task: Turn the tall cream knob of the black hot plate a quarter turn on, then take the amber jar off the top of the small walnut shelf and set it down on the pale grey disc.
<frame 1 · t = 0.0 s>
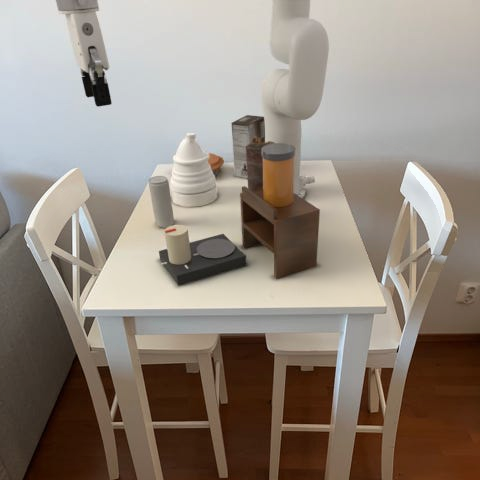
hand: (98, 100, 98), 31 cm above the table, tool pointing down, fingers open, 9 cm apart
candle: (263, 224, 119), on the table
knob: (178, 244, 99), point 6 cm above the table, hinge at 0.0°
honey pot: (194, 197, 134), on the table
shelf: (278, 256, 105), on the table
coffee box: (250, 173, 147), on the table
hot plate: (202, 263, 105), on the table
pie: (200, 174, 148), on the table
beverage can: (165, 225, 121), on the table
pale grey disc: (216, 258, 106), resting on hot plate
jar: (278, 201, 97), point 13 cm above the table, touching shelf
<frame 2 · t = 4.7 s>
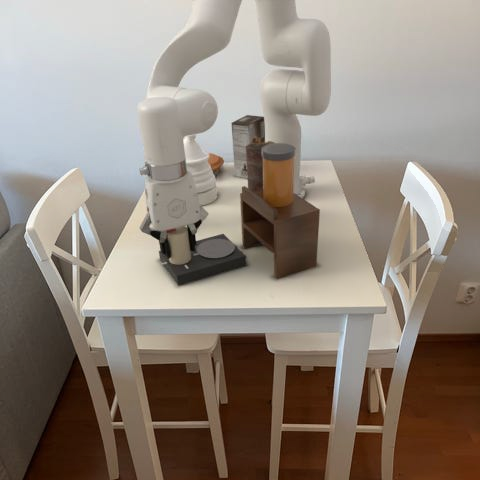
hand: (179, 251, 100), 4 cm above the table, tool pointing down, fingers closed on knob, 4 cm apart
knob: (178, 244, 99), point 6 cm above the table, hinge at -0.1°, touching gripper
everything else where it was.
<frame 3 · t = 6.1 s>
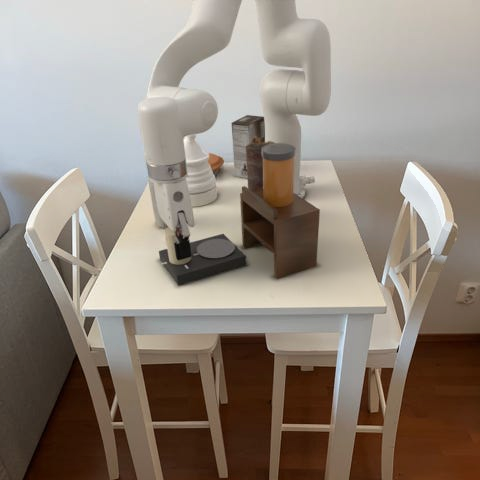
hand: (179, 251, 100), 4 cm above the table, tool pointing down, fingers closed on knob, 4 cm apart
knob: (178, 244, 99), point 6 cm above the table, hinge at 90.9°, touching gripper
everything else where it was.
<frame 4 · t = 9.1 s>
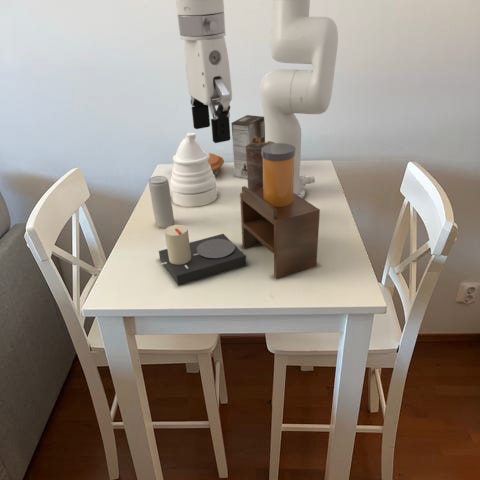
hand: (211, 134, 87), 28 cm above the table, tool pointing down, fingers open, 9 cm apart
knob: (178, 244, 99), point 6 cm above the table, hinge at 92.7°
everything else where it was.
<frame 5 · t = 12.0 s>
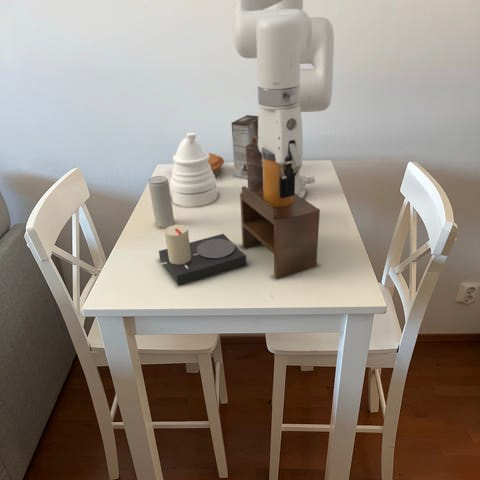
hand: (278, 189, 96), 16 cm above the table, tool pointing down, fingers closed on jar, 6 cm apart
jar: (278, 200, 97), point 13 cm above the table, touching gripper, shelf
everything else where it was.
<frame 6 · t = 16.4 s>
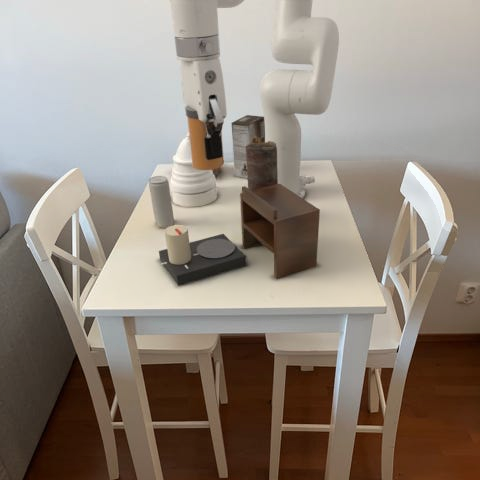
hand: (207, 152, 91), 24 cm above the table, tool pointing down, fingers closed on jar, 6 cm apart
jar: (208, 164, 92), point 22 cm above the table, touching gripper
everything else where it was.
when the fingers open (5 cm above the table, at t = 20.9 s): jar stays where it is, resting on pale grey disc.
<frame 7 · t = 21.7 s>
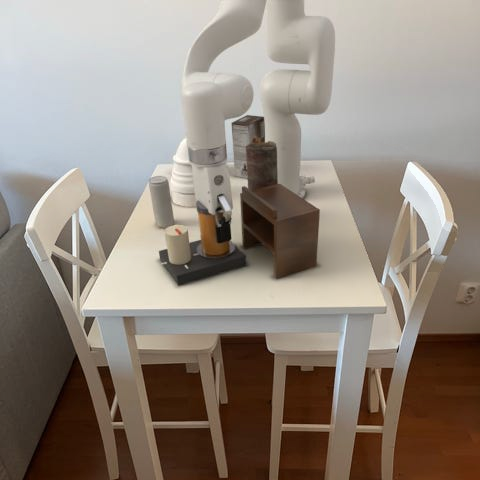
hand: (214, 232, 102), 7 cm above the table, tool pointing down, fingers open, 9 cm apart
jar: (215, 248, 104), point 3 cm above the table, touching pale grey disc
everything else where it was.
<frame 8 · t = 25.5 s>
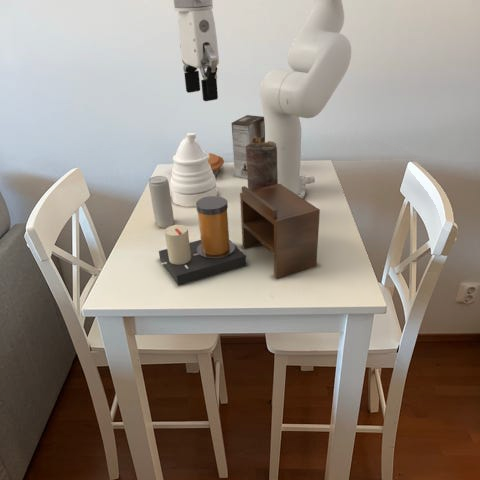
hand: (201, 95, 101), 30 cm above the table, tool pointing down, fingers open, 9 cm apart
nothing on the table moved.
at the end: knob at +93° (first picture: +0°); jar 0.0 cm off-centre on the pale grey disc, point 2.8 cm above the pale grey disc's base; jar tilted 0° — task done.
